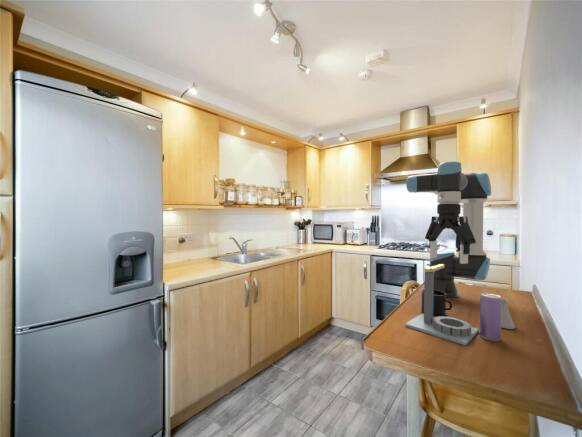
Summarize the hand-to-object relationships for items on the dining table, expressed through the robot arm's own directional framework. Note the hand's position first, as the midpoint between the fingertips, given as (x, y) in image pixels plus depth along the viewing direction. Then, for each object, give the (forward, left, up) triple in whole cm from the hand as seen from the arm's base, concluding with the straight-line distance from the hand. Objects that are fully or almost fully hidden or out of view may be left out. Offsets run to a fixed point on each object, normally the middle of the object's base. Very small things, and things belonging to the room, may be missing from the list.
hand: (447, 260), depth 99 cm
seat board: (+1, -1, -26) cm, 26 cm away
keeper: (-5, -6, -5) cm, 9 cm away
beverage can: (-4, +13, -26) cm, 29 cm away
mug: (-15, -8, -26) cm, 31 cm away
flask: (-20, +14, -26) cm, 36 cm away
